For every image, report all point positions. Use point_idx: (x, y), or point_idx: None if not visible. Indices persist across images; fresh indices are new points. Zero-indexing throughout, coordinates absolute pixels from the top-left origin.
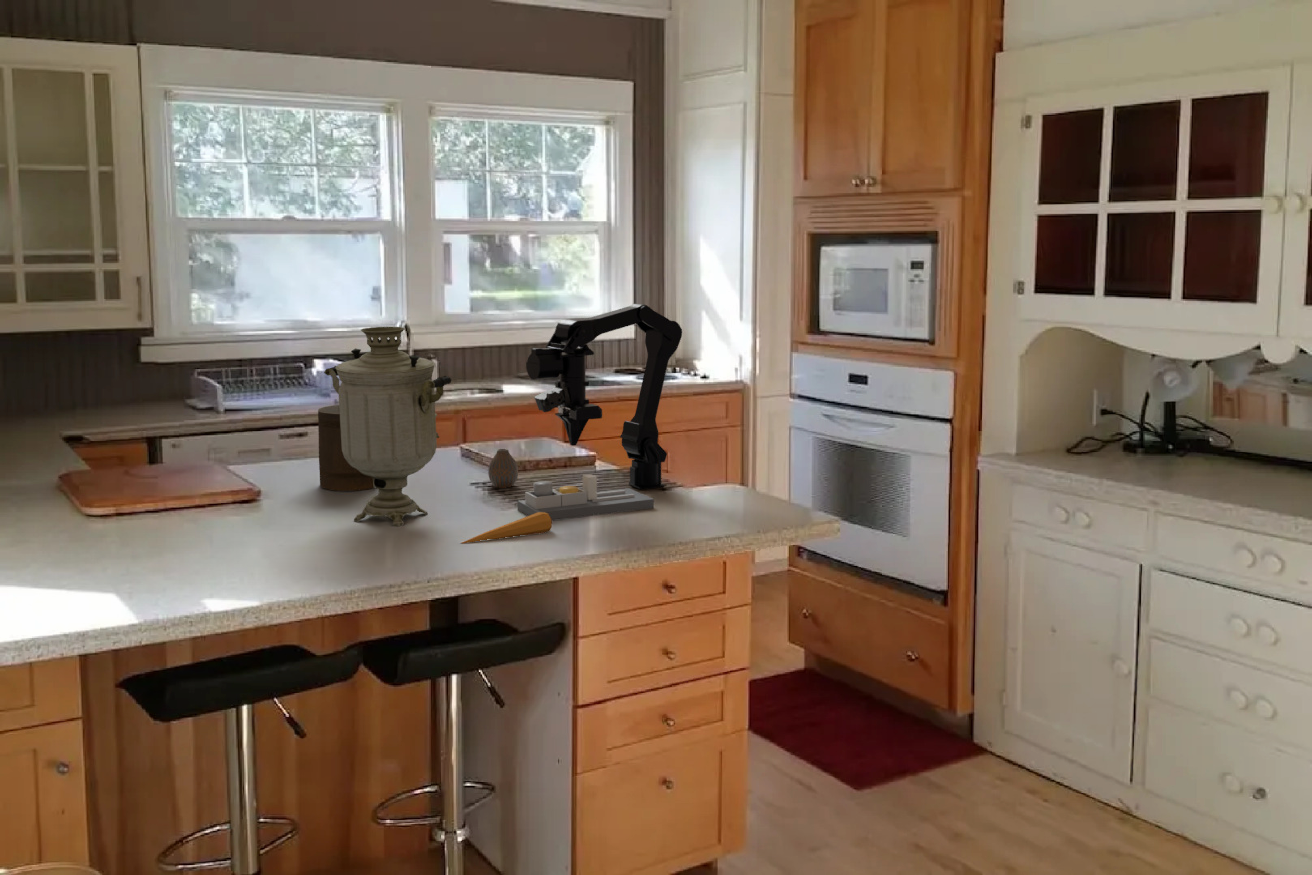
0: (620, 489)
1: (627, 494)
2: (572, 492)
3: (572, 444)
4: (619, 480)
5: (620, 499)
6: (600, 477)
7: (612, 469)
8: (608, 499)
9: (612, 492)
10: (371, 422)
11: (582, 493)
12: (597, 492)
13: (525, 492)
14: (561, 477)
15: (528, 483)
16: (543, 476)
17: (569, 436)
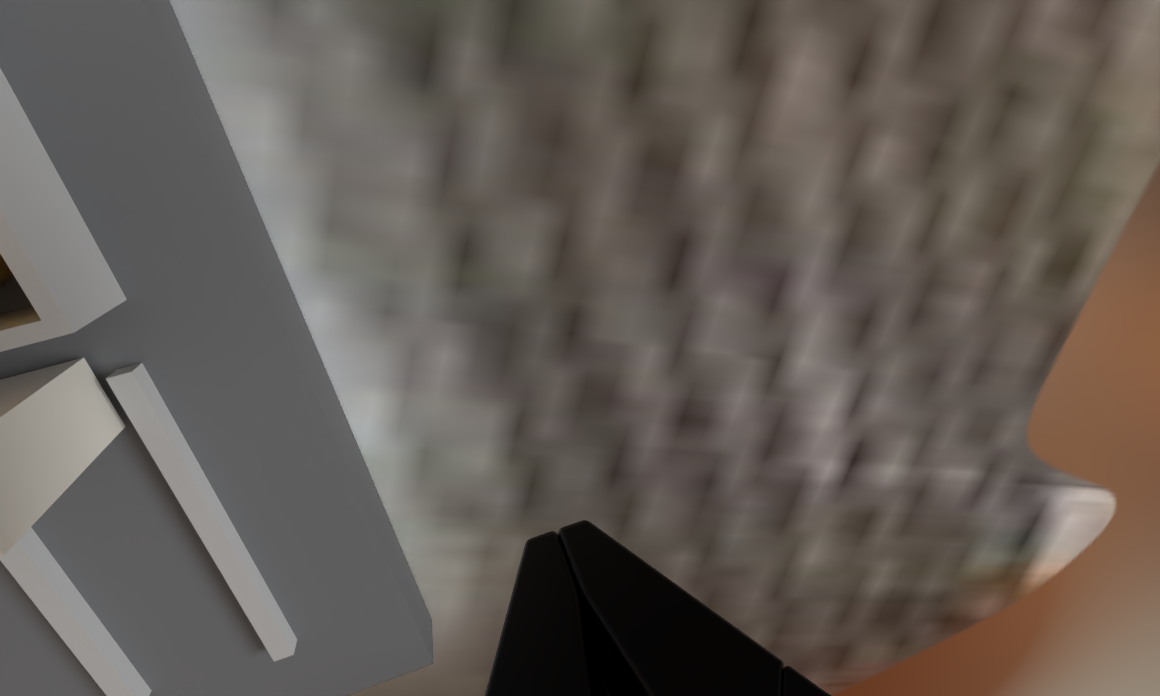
0: (401, 618)
1: (231, 658)
2: None
3: (525, 560)
4: (821, 578)
5: (45, 620)
6: (917, 497)
7: (1032, 555)
8: None
9: (229, 583)
10: None
11: None
12: (323, 479)
13: None
14: (1011, 300)
15: (972, 58)
16: (1083, 199)
17: (605, 626)
